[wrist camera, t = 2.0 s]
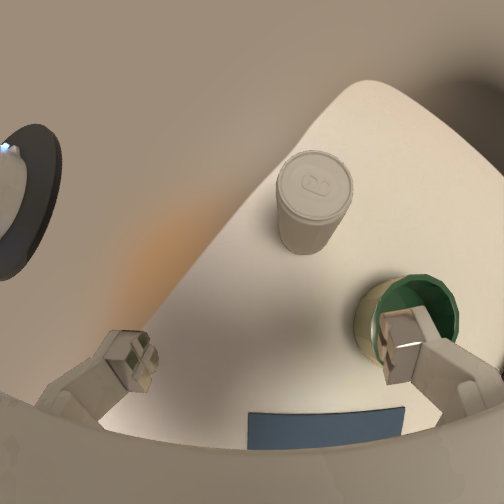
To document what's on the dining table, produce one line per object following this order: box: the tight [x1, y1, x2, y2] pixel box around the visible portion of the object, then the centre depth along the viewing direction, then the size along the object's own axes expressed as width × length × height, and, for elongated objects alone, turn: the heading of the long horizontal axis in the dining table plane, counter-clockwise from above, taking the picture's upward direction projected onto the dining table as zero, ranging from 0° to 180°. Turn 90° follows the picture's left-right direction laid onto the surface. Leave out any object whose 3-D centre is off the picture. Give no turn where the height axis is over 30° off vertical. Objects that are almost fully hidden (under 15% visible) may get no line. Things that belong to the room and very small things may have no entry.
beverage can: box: [276, 150, 353, 255], centre depth 23 cm, size 5×5×12 cm
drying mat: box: [247, 407, 405, 450], centre depth 24 cm, size 16×12×1 cm
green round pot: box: [354, 274, 459, 368], centre depth 23 cm, size 8×8×6 cm
